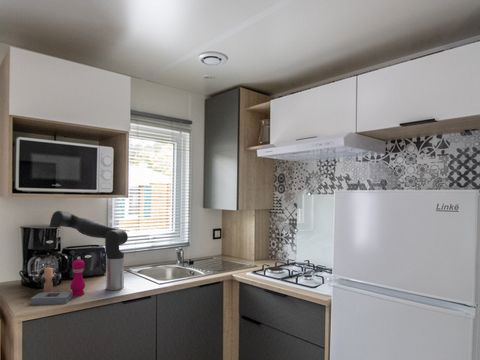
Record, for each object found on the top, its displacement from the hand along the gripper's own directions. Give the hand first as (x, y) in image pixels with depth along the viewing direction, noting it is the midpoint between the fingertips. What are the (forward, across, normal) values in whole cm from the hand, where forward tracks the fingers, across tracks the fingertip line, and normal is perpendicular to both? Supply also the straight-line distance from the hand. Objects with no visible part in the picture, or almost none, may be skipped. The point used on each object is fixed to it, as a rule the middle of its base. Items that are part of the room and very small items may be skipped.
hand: (49, 280), depth 178 cm
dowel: (-3, 0, +8) cm, 8 cm away
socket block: (+10, +1, +8) cm, 13 cm away
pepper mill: (+5, +13, +8) cm, 16 cm away
